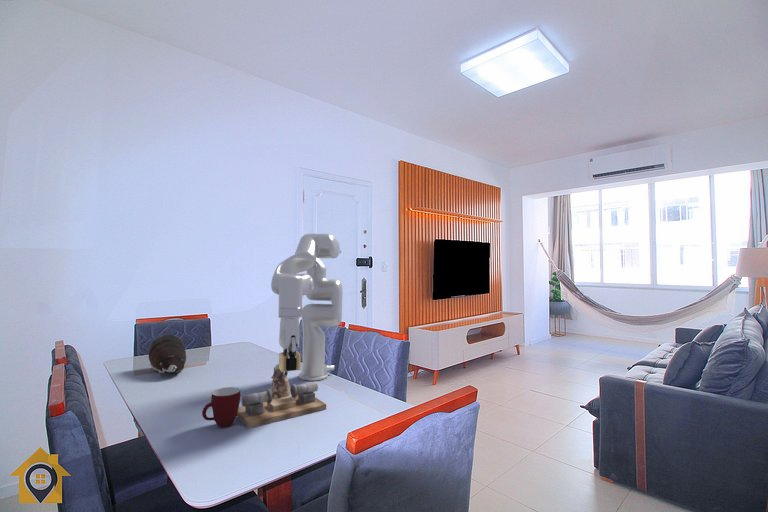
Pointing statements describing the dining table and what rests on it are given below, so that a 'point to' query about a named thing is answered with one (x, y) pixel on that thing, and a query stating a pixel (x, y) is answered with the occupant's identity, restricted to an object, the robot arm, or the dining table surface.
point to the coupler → (283, 361)
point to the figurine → (280, 384)
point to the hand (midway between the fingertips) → (289, 367)
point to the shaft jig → (279, 405)
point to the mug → (224, 406)
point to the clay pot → (167, 354)
